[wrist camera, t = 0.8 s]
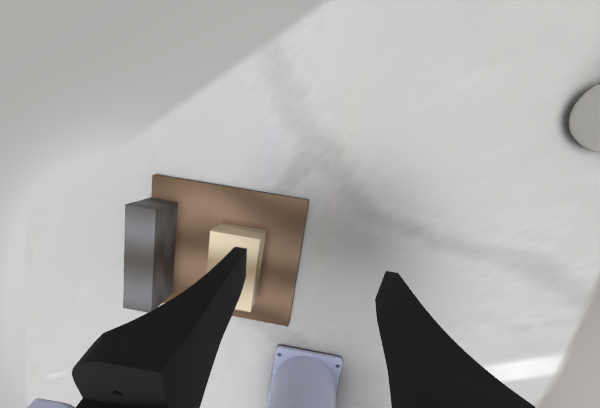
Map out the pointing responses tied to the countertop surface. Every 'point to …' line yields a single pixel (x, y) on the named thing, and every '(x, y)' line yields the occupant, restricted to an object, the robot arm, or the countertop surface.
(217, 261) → the cream wooden block
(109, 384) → the robot arm
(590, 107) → the plastic bottle
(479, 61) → the countertop surface
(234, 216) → the board
